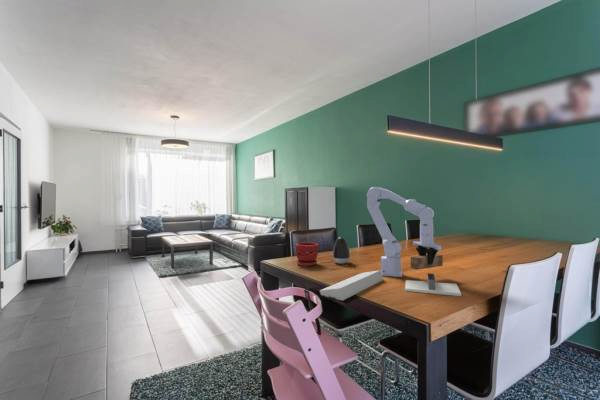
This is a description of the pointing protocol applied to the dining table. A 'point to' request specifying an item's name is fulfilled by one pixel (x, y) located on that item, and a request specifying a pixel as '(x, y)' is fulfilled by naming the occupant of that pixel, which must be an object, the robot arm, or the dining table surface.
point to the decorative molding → (352, 285)
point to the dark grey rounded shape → (341, 251)
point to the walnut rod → (426, 262)
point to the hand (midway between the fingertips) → (426, 263)
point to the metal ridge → (431, 281)
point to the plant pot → (306, 253)
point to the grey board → (439, 289)
